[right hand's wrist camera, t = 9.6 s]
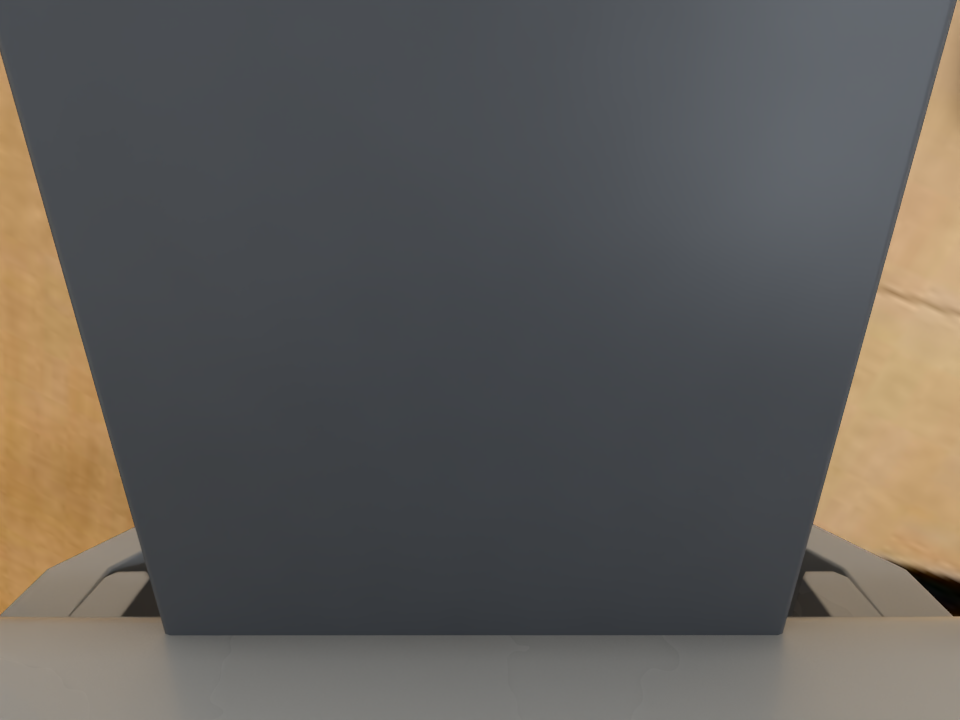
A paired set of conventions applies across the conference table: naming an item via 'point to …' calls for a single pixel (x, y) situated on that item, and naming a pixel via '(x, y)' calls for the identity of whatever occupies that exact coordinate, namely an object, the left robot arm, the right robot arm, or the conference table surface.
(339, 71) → the bar
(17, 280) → the conference table surface
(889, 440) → the conference table surface
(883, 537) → the conference table surface
